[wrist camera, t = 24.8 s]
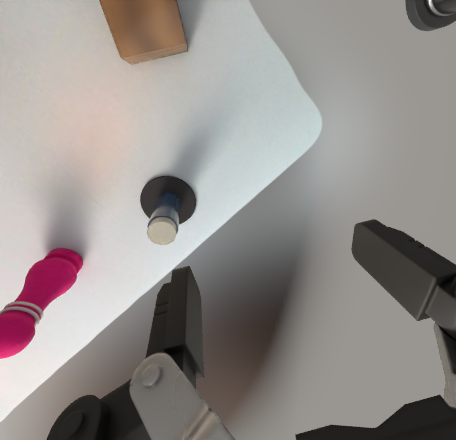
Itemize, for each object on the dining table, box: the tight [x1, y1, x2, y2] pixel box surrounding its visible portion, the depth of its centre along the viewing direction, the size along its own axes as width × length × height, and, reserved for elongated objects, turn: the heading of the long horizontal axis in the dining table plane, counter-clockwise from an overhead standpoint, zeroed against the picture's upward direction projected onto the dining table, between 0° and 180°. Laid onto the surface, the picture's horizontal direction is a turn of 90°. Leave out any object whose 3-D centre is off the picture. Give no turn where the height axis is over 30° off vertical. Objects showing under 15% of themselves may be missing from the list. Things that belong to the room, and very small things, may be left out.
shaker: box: [147, 192, 181, 245], centre depth 35 cm, size 4×4×10 cm
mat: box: [140, 176, 196, 224], centre depth 40 cm, size 10×10×1 cm
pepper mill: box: [0, 249, 83, 359], centre depth 34 cm, size 7×7×20 cm
